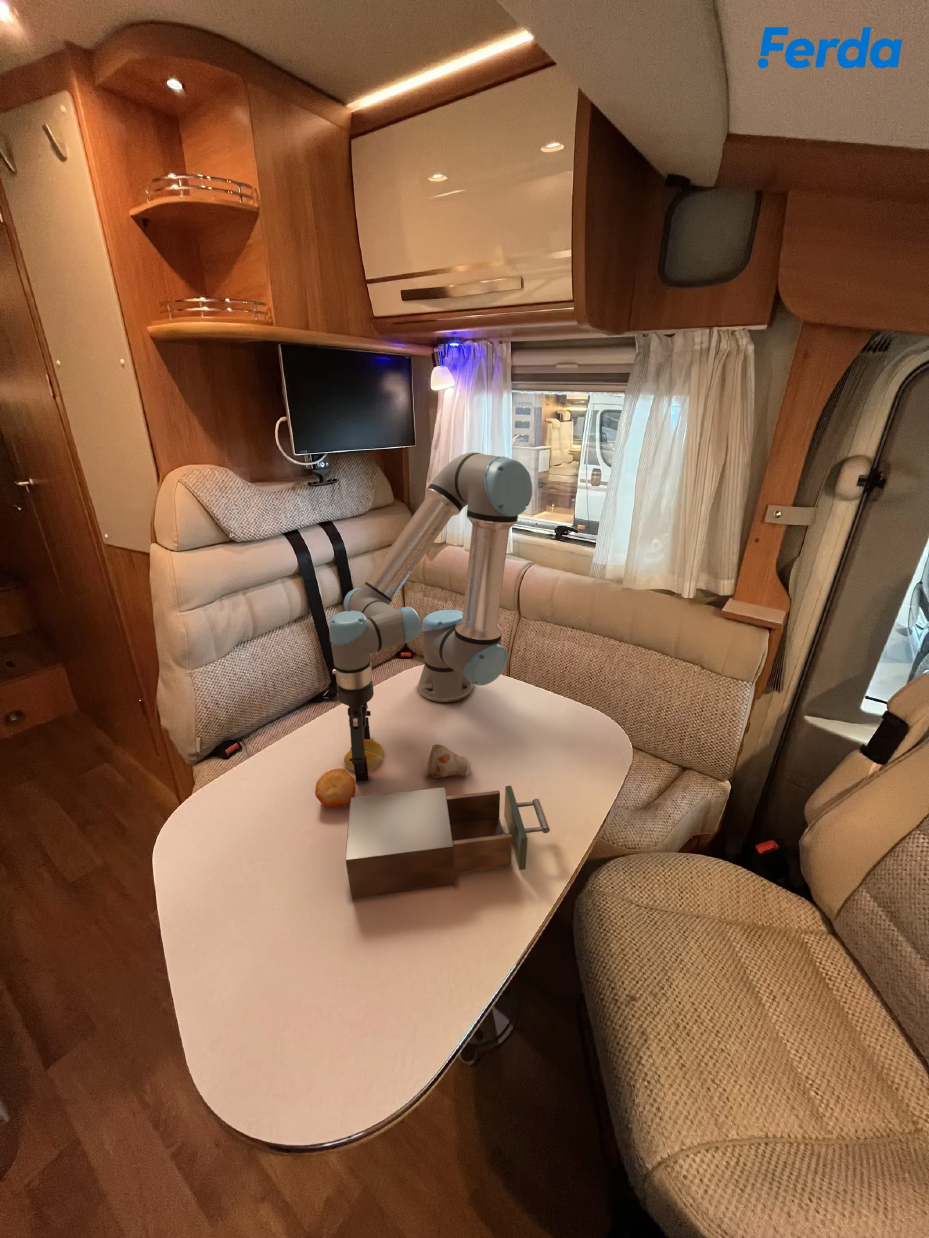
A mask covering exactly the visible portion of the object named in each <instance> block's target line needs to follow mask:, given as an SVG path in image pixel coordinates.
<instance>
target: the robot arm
mask: <svg viewBox="0 0 929 1238" xmlns="http://www.w3.org/2000/svg"><path fill="white" fill-rule="evenodd" d="M533 486H534V485H533V480H532V477H531V473H530V472H529V471H528V469H527V467H526V466H525V465H524V463H522V462H520V461H519V460H516V459H512V458H510V457H508V456H507V457H506V456H498V455H493V454H492V455H491V454H485V453H481V452H467V453H464V454H463V453H462V454H460V455H459V456H457V457H455V458H454V459H452V460H451V461H450V462H448V463H447V464H446V465H445V466H444V467H443V468H442V469H441V471H439V472H438V474H437V475H436V476H435V477H434V478H433V480H432V481H431V482H430V483H429V485H428V487H427V488H426V489H425V495H426V497H425V498H424V499H423V501H422V503H421V504H420V505H419V507H418V508H417V509H416V511H415V512H414V514H413V515H412V517H411V518H410V519H409V521H408V522H407V524H406V525H405V526H404V528H403V529H402V531H401V532H400V534H398V536H397V537H396V539H395V541H394V542H393V543H392V545H390V547H389V549H388V550H387V552H386V553H385V555H384V556H383V557H382V558H381V560H380V562H378V564H377V566H376V567H375V569H374V570H373V571H372V573H371V574H370V575H369V577H368V578H367V580H366V581H365V583H364V584H363V585H362V586H361V587H356V588H354V589H351V590H350V591H348V592H347V593H346V595H345V597H344V599H343V609H344V610H343V611H340V612H338V613H336V614H334V615H333V616H332V617H331V618H330V620H329V624H328V625H329V627H328V629H329V631H328V632H329V642H330V646H331V652H332V659H333V665H334V668H333V669H332V670H331V672H332V674H333V675H335V679H336V680H335V681H336V690H337V697H338V700H339V702H340V703H341V704H343V705H345V706H348V707H347V716H348V723H349V725H348V726H349V730H350V731H349V732H350V748H351V749H352V758H350V761H352V764H354V770H355V772H354V778H355V783H363V782H369V781H370V778H369V770H368V768H367V759H366V755H365V742H364V739H370V740H371V731H370V730H371V729H370V721H369V717H371V716H372V715H371V713H372V712H371V710H368V709H369V705H368V702H370V701H371V700H372V699H373V697H374V683H373V670H372V661H371V655H373V654H375V653H377V652H381V651H384V650H387V649H390V648H393V647H397V646H400V645H404V644H405V645H406V644H407V643H408V642H412V641H413V640H416V639H418V638H419V636H420V635H421V631H422V646H423V662H424V665H423V667H422V671H421V674H420V678H419V682H418V690H419V693H420V694H421V696H423V697H424V698H425V699H427V700H429V701H431V702H435V703H453V702H458V701H461V700H464V699H465V698H466V697H468V696H469V695H470V694H471V693H472V691H473V688H474V687H473V685H475V686H487V685H489V684H491V683H493V682H494V681H496V680H497V679H498V678H499V677H500V676H501V675H502V674H503V672H504V671H505V669H506V668H507V665H508V662H509V653H508V650H507V649H506V647H505V646H503V645H502V644H501V643H502V635H503V630H502V628H501V627H500V626H499V624H498V620H499V613H500V604H501V596H502V590H503V582H504V581H503V580H504V574H505V567H506V560H507V559H506V558H507V552H508V544H509V538H510V537H509V536H510V529H511V528H512V527H513V526H514V525H516V524H517V523H518V521H519V520H518V519H519V516H520V515H521V514H522V513H524V512H525V511H526V510H527V507H528V506H529V505H530V503H531V500H532V497H533V491H534V490H533V488H534V487H533ZM465 507H467V508H466V518H467V519H468V520H469V521H470V523H471V535H470V543H469V544H470V545H469V552H468V553H469V554H468V561H467V572H466V583H465V590H464V600H463V611H462V610H461V611H460V610H458V609H443V610H437V611H434V612H431V613H428V614H427V615H425V617H424V618H423V620H422V623H421V619H420V617H419V614H418V612H417V611H416V610H415V609H414V608H413V607H412V606H404V607H402V606H401V607H399V608H396V609H395V608H394V607H393V606H392V605H391V603H392V601H393V600H394V599H395V598H396V596H397V594H398V593H399V592H400V590H401V589H402V588H403V587H404V585H405V583H406V582H407V580H408V579H409V577H410V576H411V575H412V573H413V572H414V571H415V569H416V568H417V566H418V565H419V564H420V562H421V561H422V559H423V558H424V556H425V555H426V554H427V552H428V551H429V549H430V548H431V546H432V545H433V544H434V542H435V541H436V540H437V538H438V537H439V535H440V534H441V533H442V531H443V530H444V529H445V527H446V526H447V524H448V522H450V520H451V519H452V517H454V516H459V514H460V513H461V511H462V510H463V509H464V508H465Z"/></svg>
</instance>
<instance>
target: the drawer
mask: <svg viewBox="0 0 929 1238" xmlns="http://www.w3.org/2000/svg"><path fill="white" fill-rule="evenodd" d="M446 798H447V805H448V812H449V819H450V826H451V833H452V840H453V847H454V875H456V874H463V873H464V874H465V873H470V872H471V873H472V872H478V871H486V870H494V869H502V868H508V867H511V866H512V851H513V854H514V857H515V861H516V865H517V867H518V871H523V870H526V868H527V867H526V866H527V853H528V835H527V834H531V833H532V834H533V833H540V832H542V833H543V834H548V833H550V830H551V829H550V828H551V827H550V826H549V824H548V821H547V817H546V815H545V812H544V810H543V807H542V804H541V801H540V799H539V798H534V799H533V800H531V801H522V802H517V799H516V796H515V793H514V790H513V787H512V785H505V786H504V807H503V809H504V813H503V816H504V819H505V824H506V827H507V831H508V833H507V834H504V830H503V827H502V823H501V820H500V814H501V813H500V812H501V811H500V809H501V808H500V807H501V792H500V790H491V791H481V792H474V793H464V794H457V795H446ZM524 807H533V809H534V811H535V814H536V818H537V820H538V823H539V826H534V827H525V826H524V822H523V819H522V815H521V813H520V810H519V809H520V808H524ZM512 849H513V850H512Z"/></svg>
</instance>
